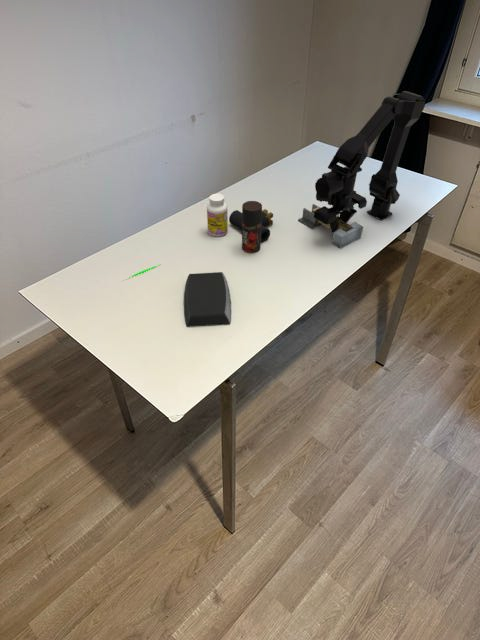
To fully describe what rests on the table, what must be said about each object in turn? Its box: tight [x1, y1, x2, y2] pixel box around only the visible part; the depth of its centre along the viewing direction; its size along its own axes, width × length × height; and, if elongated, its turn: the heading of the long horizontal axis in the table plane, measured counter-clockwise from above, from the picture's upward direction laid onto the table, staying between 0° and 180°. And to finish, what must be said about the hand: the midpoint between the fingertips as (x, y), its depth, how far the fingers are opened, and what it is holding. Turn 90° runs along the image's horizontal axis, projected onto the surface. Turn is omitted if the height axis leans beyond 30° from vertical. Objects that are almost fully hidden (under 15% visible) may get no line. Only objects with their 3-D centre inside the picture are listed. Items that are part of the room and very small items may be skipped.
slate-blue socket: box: [331, 221, 364, 250], centre depth 143 cm, size 10×4×4 cm, turn 128°
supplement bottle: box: [206, 193, 229, 238], centre depth 144 cm, size 7×7×13 cm
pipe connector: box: [228, 208, 274, 244], centre depth 149 cm, size 12×5×15 cm
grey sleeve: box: [297, 203, 323, 230], centre depth 152 cm, size 8×7×4 cm
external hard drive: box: [183, 271, 232, 328], centre depth 123 cm, size 13×19×4 cm
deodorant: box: [241, 200, 263, 254], centre depth 137 cm, size 6×6×15 cm
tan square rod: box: [311, 206, 352, 232], centre depth 147 cm, size 3×15×3 cm, turn 38°
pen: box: [129, 264, 160, 279], centre depth 133 cm, size 1×14×1 cm, turn 127°
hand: (336, 230), depth 147 cm, fingers closed on tan square rod, 3 cm apart
